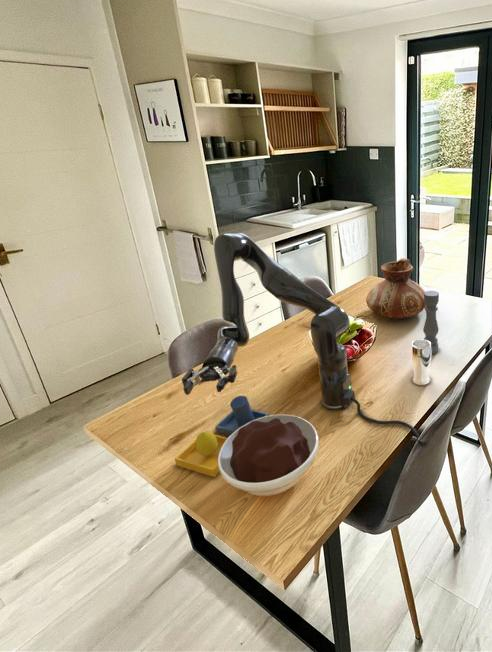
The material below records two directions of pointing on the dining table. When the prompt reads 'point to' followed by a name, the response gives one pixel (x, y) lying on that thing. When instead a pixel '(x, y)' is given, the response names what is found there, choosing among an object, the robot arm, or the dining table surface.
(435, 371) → the dining table surface
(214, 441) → the lemon
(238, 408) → the blue cylinder
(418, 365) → the silver metal cylinder
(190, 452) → the yellow tray
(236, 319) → the robot arm
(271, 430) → the white serving bowl
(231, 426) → the blue tray
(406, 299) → the painted clay pot
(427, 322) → the grey pepper mill
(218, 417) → the dining table surface
